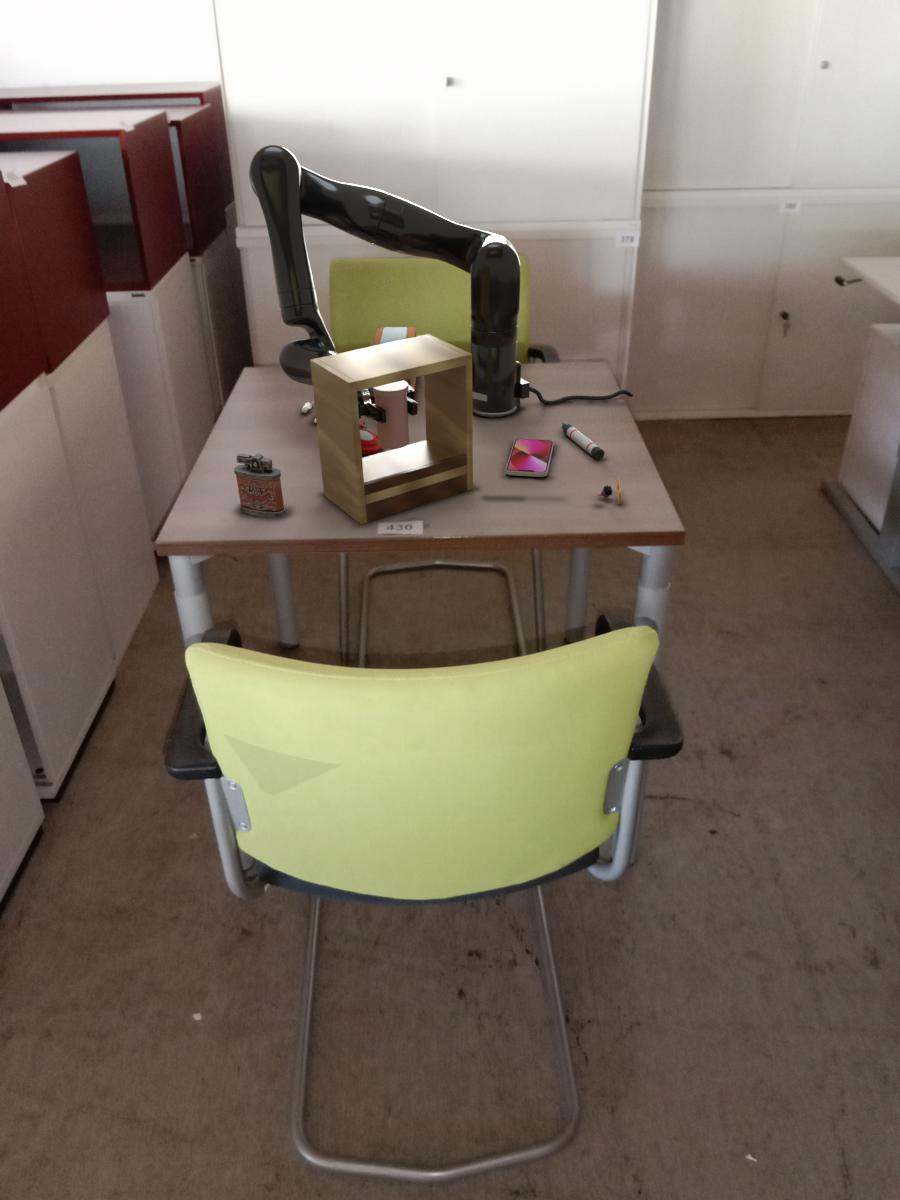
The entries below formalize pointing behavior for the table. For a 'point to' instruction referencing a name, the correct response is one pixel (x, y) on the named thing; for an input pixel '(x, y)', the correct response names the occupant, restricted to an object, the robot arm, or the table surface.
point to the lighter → (259, 486)
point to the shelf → (403, 471)
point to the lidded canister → (393, 415)
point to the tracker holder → (368, 440)
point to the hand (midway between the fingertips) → (399, 413)
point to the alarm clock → (395, 339)
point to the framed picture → (610, 491)
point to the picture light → (307, 408)
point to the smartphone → (530, 457)
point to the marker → (583, 441)
